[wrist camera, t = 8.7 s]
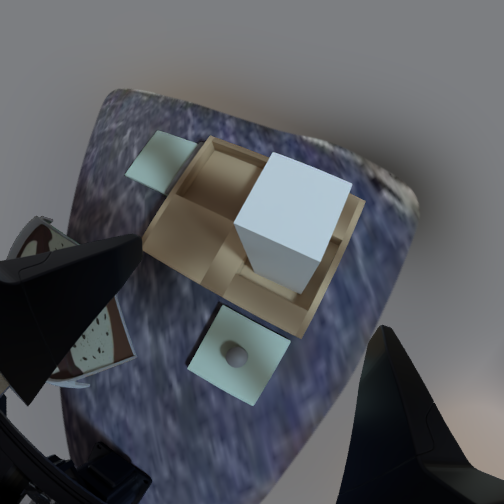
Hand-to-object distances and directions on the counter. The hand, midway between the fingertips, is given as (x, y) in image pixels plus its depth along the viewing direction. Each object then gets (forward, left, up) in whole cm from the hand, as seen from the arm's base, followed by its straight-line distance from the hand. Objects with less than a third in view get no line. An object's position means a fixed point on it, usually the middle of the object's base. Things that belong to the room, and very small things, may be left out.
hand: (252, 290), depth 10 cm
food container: (-9, +13, -14) cm, 21 cm away
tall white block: (+4, 0, -13) cm, 14 cm away
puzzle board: (+2, +8, -13) cm, 16 cm away
